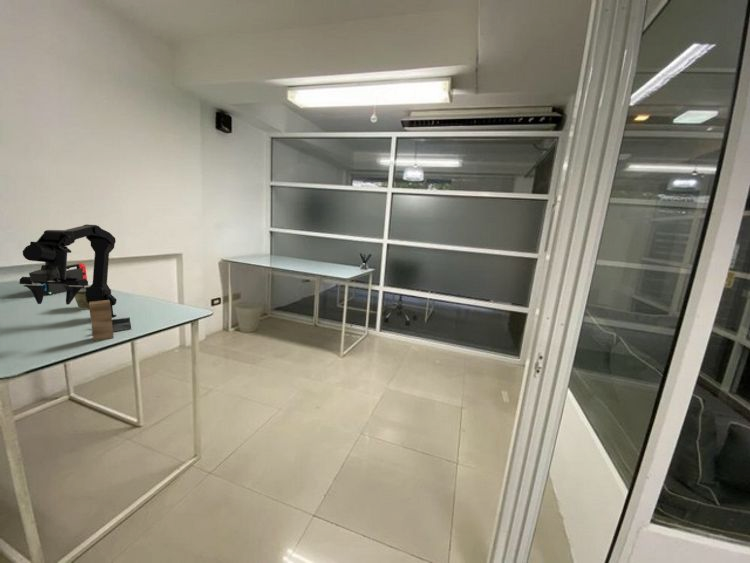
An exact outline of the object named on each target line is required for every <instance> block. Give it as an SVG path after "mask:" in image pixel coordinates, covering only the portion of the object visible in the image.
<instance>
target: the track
mask: <svg viewBox="0 0 750 563" xmlns="http://www.w3.org/2000/svg"><path fill="white" fill-rule="evenodd" d="M112 327H113V333H115V332H121V331H127V330H132V323H131V317H130V316H129V317H123V318H115V319H112Z"/></svg>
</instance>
